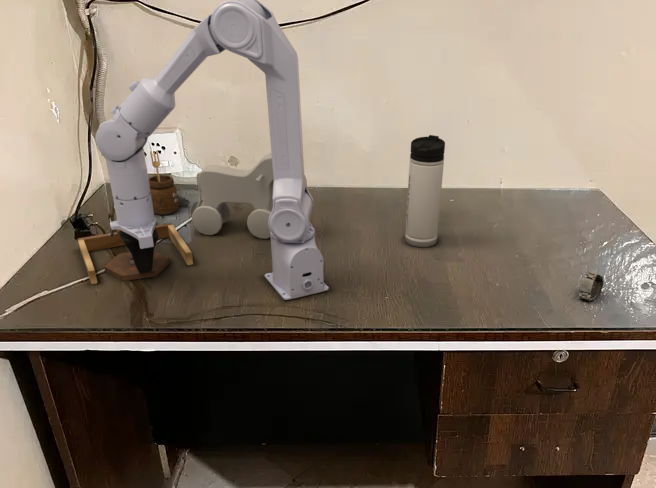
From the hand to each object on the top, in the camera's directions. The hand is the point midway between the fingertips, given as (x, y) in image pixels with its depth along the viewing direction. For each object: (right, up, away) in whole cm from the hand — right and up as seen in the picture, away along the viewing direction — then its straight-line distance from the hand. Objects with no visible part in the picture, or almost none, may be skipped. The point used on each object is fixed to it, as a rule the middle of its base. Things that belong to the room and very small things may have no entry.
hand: (145, 270), depth 105 cm
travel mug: (+48, +7, +17) cm, 52 cm away
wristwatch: (+75, -4, -1) cm, 75 cm away
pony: (+14, +9, +19) cm, 25 cm away
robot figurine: (-3, +1, +4) cm, 5 cm away
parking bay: (-4, +3, +7) cm, 9 cm away
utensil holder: (-6, +14, +27) cm, 31 cm away
